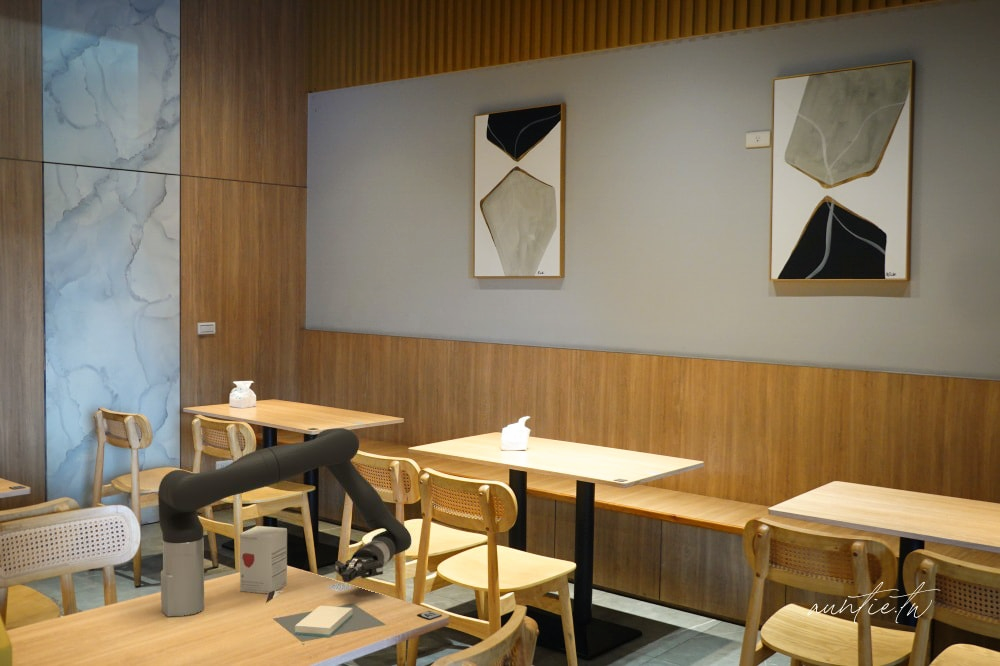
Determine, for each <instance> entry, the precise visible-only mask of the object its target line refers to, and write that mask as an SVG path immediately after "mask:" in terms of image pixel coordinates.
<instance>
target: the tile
mask: <svg viewBox="0 0 1000 666" xmlns="http://www.w3.org/2000/svg"><path fill="white" fill-rule="evenodd" d="M312 611H313V612H311V613H310V614H309V615H308V616H306V617H305V618H304V619H303V620H301V621H300V622H299V623H298V624H296V625H295V635H306V636H320V637H324V638H331V637H332V636H331V635H333V634H334V633H335V632H336V631H337V630H338V629H339V628H340V627H341V626H342V625H344V624H345V623H346V622H347V621H348V620H349V619H350V618H351V617H352V608H346V607H337V606H330V605H329V606H328V605H318V607H316V608H315V609H314V610H312Z"/></svg>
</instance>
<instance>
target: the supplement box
mask: <svg viewBox="0 0 1000 666" xmlns="http://www.w3.org/2000/svg"><path fill="white" fill-rule="evenodd" d="M239 562H240V563H239V568H240V570H239V572H240V573H239V575H240V577H239V578H240V579H239V584H240V587H239V588H240V590H239V591H240V592H245V591H247V593H255V592H257V593H256V594H265V593H267V594H268V595H269V592H272V591H276V590H277V591H279V590H280V589H282V588H283V587H285V586H287V585H288V529H287V528H286V527H275V526H262V525H256V526H254V527H252V528H249V529H247V530H245V531H243V532H241V533H239Z"/></svg>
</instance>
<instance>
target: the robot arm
mask: <svg viewBox="0 0 1000 666" xmlns="http://www.w3.org/2000/svg"><path fill="white" fill-rule="evenodd" d="M359 449H360V440H359V437H358V436H357V434H355V433H354V432H353V431H351V430H350V429H347V428H344V427H343V428H342V427H338V428H328V429H324V430H322V431H320V432H319V433H318V434H317V435H316V436H315V438H314V439H311V440H307V441H301V442H296V443H295V442H293V443H286V444H285V443H284V444H280V445H274V446H269V447H265V448H261V449H258V450H255V451H251V452H248V453H246V454H244V455H242V456H241V457H239V458H237V459H236V460H235V461H232V462H231V463H230V464H228V465H226V466H224V467H221V468H217V469H212V470H208V471H203V472H197V473H194V472H190V471H187V470H184V469H175V470H172V471H169V472H167V473H166V474H165V475H164V476H163V477H162V479H161V481H160V483H159V486H158V492H157V493H158V495H157V496H158V519H159V520H158V521H159V527H160V530H161V533H162V570H161V571H160V602H161V603H160V605H161V606H160V607H161V611H162V612H163V613H164V614H165V616H166V617H183V616H184V615H185V616H191V615H195V614H197V612H198V613H200V611H201V612H202V611H204V609H205V557H204V556H205V555H204V554H205V553H204V550H205V549H204V547H205V545H204V544H205V543H204V526H203V523H202V522H201V520H200V519H199V515H198V510H200V509H201V510H202V509H203V508H205V507H209V505H212V504H215V503H216V502H218V501H221V500H224V499H227V498H229V497H233V496H236V495H240V494H244V493H248V492H251V491H255V490H258V489H262V488H266V487H269V486H272V485H275V484H279V483H281V482H284V481H287V480H289V479H292V478H295V477H297V476H300V475H302V474H305V473H306V472H309V471H312V470H316V469H318V468H319V469H320V468H322V467H324V468H325V467H326V468H327V469H328V471H329V472H330V473H331V474H332V476H333V478H335V479H336V481H337V482H338V483H339V485H340V486H341V488H342V489H343V490H344V491H345V493H346V494H347V496H348V497H349V499H350V500H351V502H352V503H353V505H354V506H355V508H356V510H357V512H358V513H359V515H360V517H361V519H362V521H363V522H364V524H365V525H366V526H367V528H368V529H370V530H378V529H379V530H380V529H382V530H384V531H382V532H379V533H378V534H375V535H373V537H372V538H371V541H369V542H367V543H364V545H363V546H361V547H359V548H358V549H357V550H356V551H355V552H354V553H353V554H352V556H351V557H350V559H347V560H346V561H345V563H344V561H340V560H337V561H335V573H337V574H338V575H339V576H340V577H341V579H342V581H343V582H344V583H351V582H352V581H354V580H357V579H359V578H361V579H367V578H372V577H376V576H380V575H381V576H382V575H383V574H384V567H385V566H386V565H387V564H388V563H389V562H390V561H391V560H392V559H393V558H394V556H395V555H398V554H401V553H402V552H406V551H407V550H409V549H410V547H411V546H412V536H411V533H410V532H409V530H408V528H407V527H406V526H405V525H404V524H403V523H402V522H400V521H399V520H398V519H397V518H396V517H395V515H393V514H392V513H391V511H389V509H388V507H387V505H386V504H385V502H384V500H383V499H382V497H381V495H380V493H379V492H378V491H377V489H375V487H374V486H373V485H372V484H371V483H370V482H369V481H368V480H367V479H366V478H365V477H364V476H363V475H362V474H361V473H360V472H359V470H357V468H356V467H355V465H354V464H353V461H352V460H353V459H354V458H355V457H356V455H357V453H358V452H359ZM190 614H191V615H190Z"/></svg>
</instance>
